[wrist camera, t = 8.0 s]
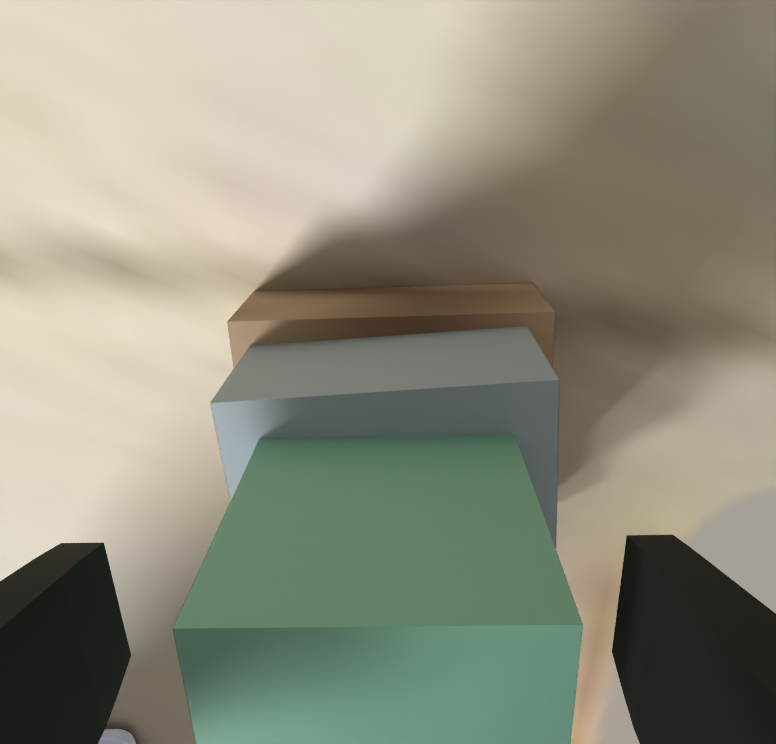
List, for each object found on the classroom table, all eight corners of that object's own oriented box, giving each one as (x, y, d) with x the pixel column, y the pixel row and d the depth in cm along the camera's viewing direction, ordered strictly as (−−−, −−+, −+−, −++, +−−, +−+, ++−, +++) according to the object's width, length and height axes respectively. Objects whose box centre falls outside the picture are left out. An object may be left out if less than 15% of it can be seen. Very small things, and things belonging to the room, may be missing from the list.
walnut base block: (284, 515, 19) (263, 583, 16) (257, 287, 16) (227, 321, 13) (518, 510, 19) (538, 579, 16) (529, 278, 16) (555, 311, 13)
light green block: (283, 635, 13) (224, 884, 9) (258, 438, 11) (172, 628, 7) (505, 633, 13) (555, 886, 8) (514, 433, 11) (582, 624, 7)
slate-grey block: (288, 569, 16) (264, 663, 13) (249, 345, 14) (210, 403, 11) (526, 556, 16) (554, 651, 13) (526, 325, 13) (559, 379, 11)
